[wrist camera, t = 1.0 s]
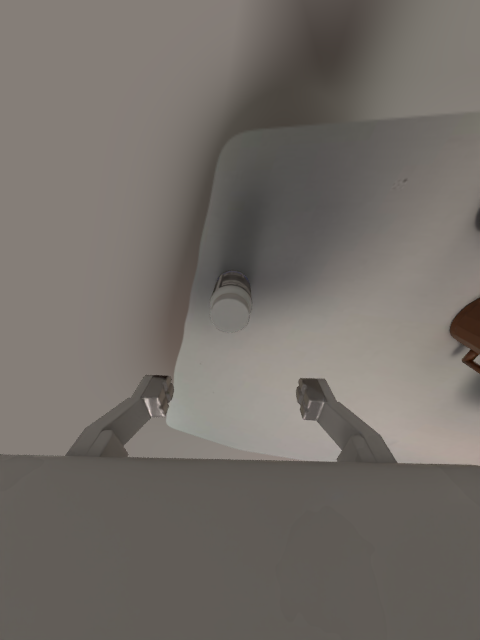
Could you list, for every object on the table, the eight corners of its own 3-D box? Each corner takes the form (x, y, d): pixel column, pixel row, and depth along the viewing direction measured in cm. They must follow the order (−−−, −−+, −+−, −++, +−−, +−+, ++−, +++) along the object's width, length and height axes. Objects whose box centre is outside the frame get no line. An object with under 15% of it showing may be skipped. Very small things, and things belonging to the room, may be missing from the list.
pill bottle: (233, 307, 27) (229, 343, 19) (209, 286, 25) (195, 316, 18) (257, 287, 25) (263, 317, 18) (233, 262, 23) (229, 285, 16)
